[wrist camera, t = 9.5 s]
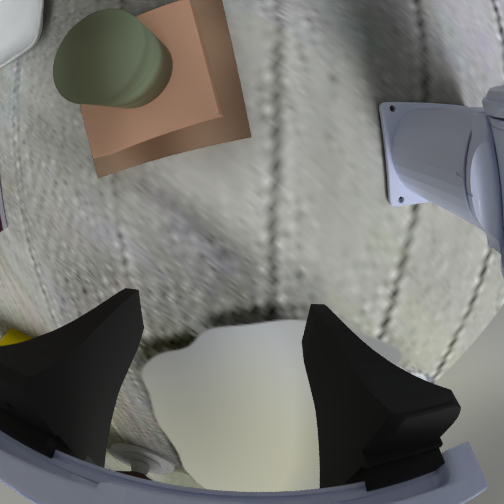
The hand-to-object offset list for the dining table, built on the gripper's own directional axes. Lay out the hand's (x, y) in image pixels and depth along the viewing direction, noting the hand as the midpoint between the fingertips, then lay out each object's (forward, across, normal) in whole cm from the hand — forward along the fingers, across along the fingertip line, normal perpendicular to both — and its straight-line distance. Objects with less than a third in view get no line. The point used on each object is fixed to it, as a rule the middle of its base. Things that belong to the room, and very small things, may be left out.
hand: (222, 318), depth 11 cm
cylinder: (+6, +6, -11) cm, 14 cm away
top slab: (+9, +6, -11) cm, 15 cm away
